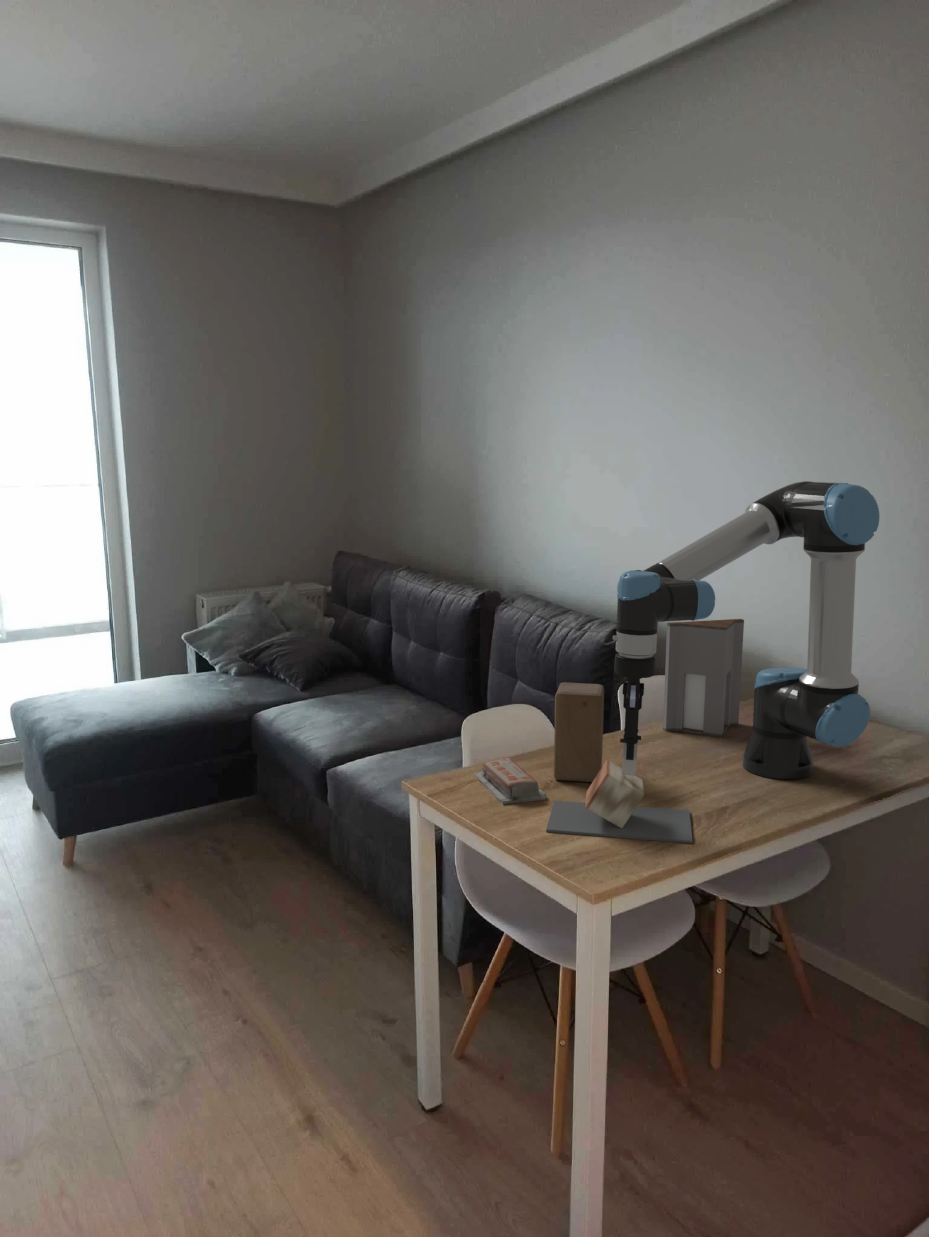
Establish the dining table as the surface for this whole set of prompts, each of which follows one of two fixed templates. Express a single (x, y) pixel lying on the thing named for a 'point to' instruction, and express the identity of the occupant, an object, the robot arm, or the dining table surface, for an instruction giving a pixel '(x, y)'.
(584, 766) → the wooden block
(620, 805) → the cube
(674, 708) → the cabinet
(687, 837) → the rubber mat
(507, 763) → the packaged product
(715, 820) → the dining table surface
